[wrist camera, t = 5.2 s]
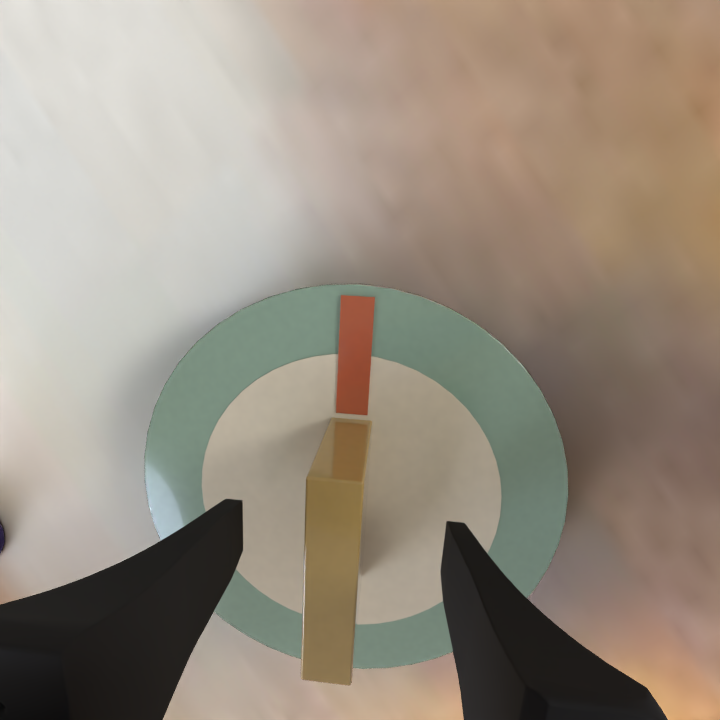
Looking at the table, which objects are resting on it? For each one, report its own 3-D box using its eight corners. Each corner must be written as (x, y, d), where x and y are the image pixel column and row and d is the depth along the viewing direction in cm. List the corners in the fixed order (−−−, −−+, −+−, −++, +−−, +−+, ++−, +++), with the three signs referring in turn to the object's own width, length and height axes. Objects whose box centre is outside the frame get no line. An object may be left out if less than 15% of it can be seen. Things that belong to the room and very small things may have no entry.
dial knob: (525, 673, 18) (579, 837, 13) (166, 629, 19) (82, 763, 14) (598, 297, 14) (719, 314, 9) (141, 270, 15) (9, 271, 10)
